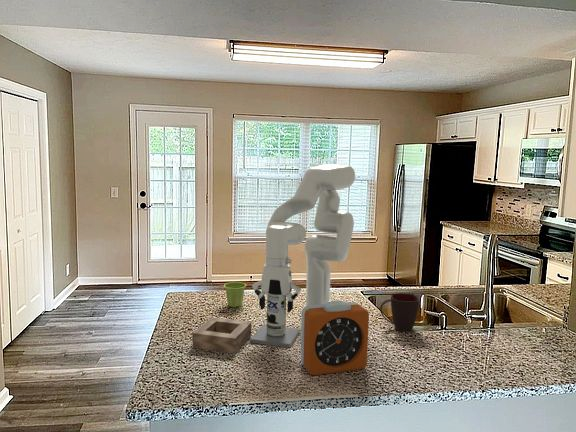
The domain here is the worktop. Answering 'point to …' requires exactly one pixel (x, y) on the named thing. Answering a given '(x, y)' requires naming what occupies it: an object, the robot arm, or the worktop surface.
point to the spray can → (276, 310)
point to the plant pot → (235, 293)
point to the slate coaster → (282, 341)
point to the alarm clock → (334, 337)
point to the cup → (403, 310)
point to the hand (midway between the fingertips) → (276, 309)
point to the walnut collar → (222, 335)
